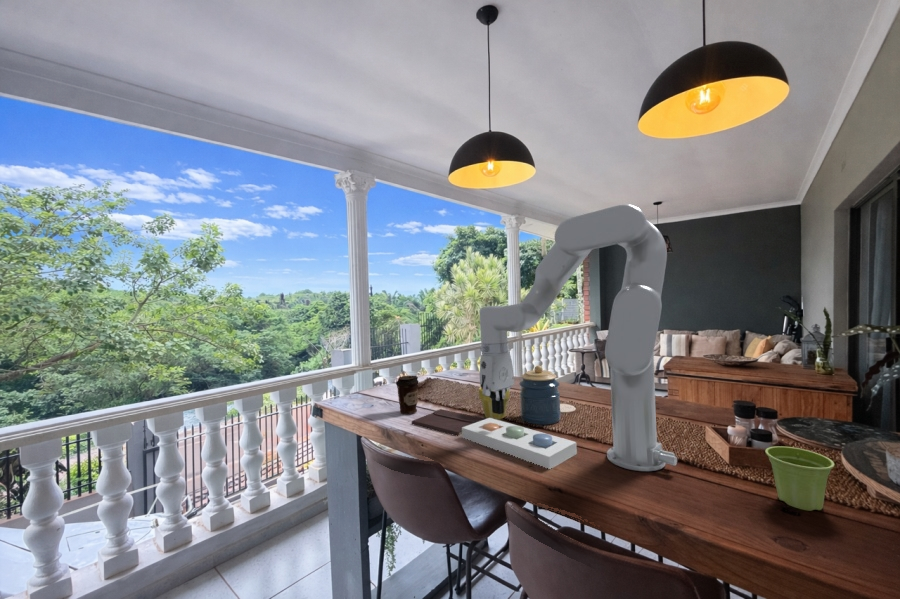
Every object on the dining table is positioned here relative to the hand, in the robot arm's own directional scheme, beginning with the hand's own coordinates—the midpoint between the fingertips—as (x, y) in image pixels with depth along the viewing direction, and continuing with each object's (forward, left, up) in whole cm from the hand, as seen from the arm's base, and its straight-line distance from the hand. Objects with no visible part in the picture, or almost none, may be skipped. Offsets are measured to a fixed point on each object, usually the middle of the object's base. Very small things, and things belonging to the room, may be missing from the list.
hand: (498, 412), depth 107 cm
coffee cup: (+42, +2, -8) cm, 43 cm away
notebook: (+22, 0, -9) cm, 24 cm away
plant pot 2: (-62, -14, -8) cm, 64 cm away
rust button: (+3, 0, -7) cm, 8 cm away
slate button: (-15, 0, -6) cm, 16 cm away
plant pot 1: (+15, -15, -8) cm, 23 cm away
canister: (+2, -23, -8) cm, 24 cm away
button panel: (-6, 0, -8) cm, 10 cm away
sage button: (-6, 0, -6) cm, 9 cm away
